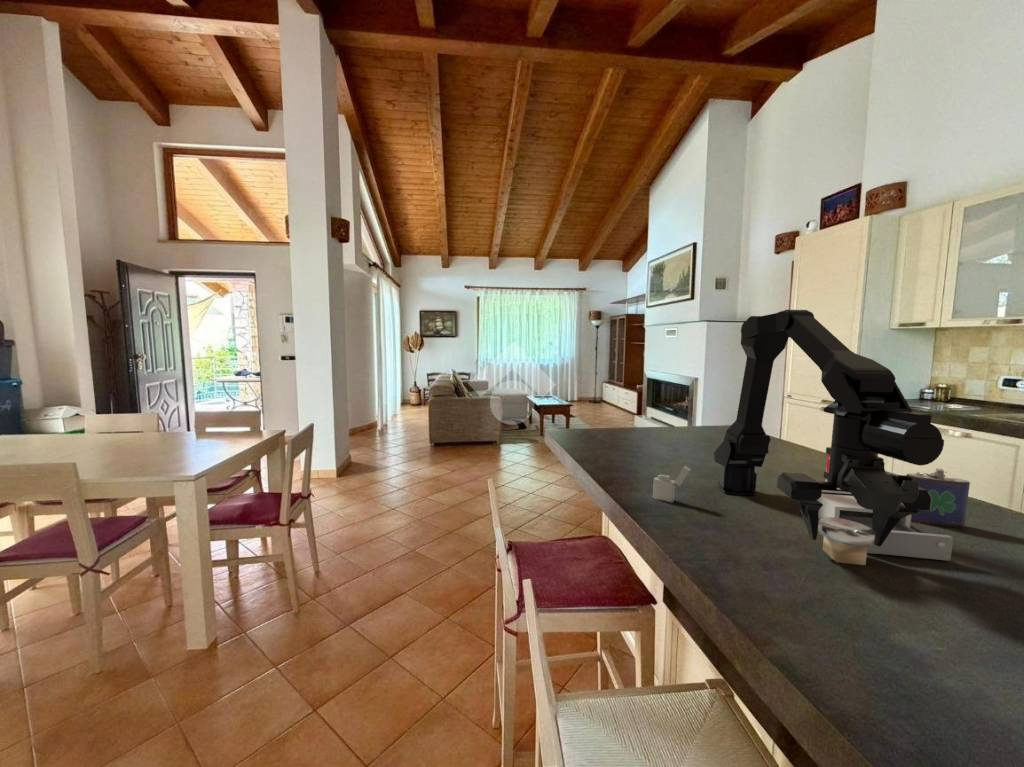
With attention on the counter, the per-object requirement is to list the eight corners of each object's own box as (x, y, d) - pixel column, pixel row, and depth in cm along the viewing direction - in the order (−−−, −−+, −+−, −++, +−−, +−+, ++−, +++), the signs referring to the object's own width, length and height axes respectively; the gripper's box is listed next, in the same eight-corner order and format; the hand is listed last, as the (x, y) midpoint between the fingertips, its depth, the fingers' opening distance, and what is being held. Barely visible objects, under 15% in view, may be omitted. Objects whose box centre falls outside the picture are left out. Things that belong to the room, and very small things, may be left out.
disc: (832, 544, 64) (833, 534, 63) (809, 524, 70) (810, 515, 70) (885, 549, 62) (886, 539, 62) (856, 528, 69) (857, 519, 69)
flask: (959, 523, 80) (966, 469, 79) (969, 530, 77) (976, 474, 76) (898, 515, 83) (904, 463, 82) (906, 521, 81) (912, 467, 80)
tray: (866, 553, 67) (869, 530, 67) (829, 524, 78) (831, 504, 78) (951, 561, 65) (954, 538, 65) (900, 530, 76) (903, 510, 76)
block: (836, 562, 65) (838, 540, 65) (822, 549, 69) (824, 529, 69) (865, 565, 64) (867, 543, 64) (849, 552, 68) (852, 531, 68)
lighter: (652, 498, 91) (654, 462, 90) (654, 495, 92) (656, 460, 91) (687, 505, 87) (689, 468, 86) (688, 503, 88) (691, 466, 88)
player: (833, 529, 77) (835, 506, 76) (803, 506, 87) (805, 486, 87) (908, 536, 74) (911, 512, 74) (869, 511, 85) (871, 490, 85)
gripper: (813, 456, 59) (804, 561, 60) (971, 465, 55) (956, 577, 57) (779, 438, 70) (772, 528, 71) (909, 445, 66) (898, 539, 68)
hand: (844, 542), depth 66 cm, fingers open, 9 cm apart
